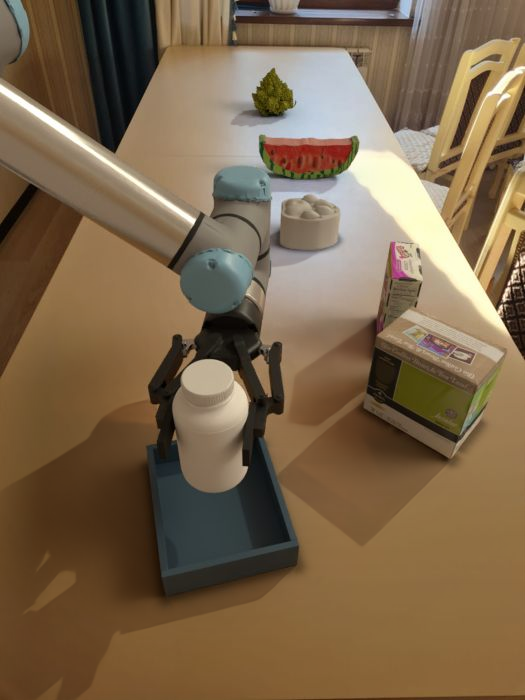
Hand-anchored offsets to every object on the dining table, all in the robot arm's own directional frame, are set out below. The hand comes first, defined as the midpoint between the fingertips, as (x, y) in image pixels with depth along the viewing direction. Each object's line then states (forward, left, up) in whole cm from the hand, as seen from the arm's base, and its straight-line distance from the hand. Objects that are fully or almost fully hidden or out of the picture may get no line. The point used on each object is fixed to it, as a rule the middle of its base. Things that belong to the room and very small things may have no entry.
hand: (203, 454), depth 55 cm
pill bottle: (-4, +2, -9) cm, 10 cm away
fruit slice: (-101, +45, -18) cm, 112 cm away
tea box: (-13, +35, -18) cm, 41 cm away
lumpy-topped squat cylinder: (-68, +35, -18) cm, 78 cm away
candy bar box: (-31, +38, -18) cm, 52 cm away
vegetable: (-153, +49, -18) cm, 162 cm away
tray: (-4, +2, -18) cm, 18 cm away
